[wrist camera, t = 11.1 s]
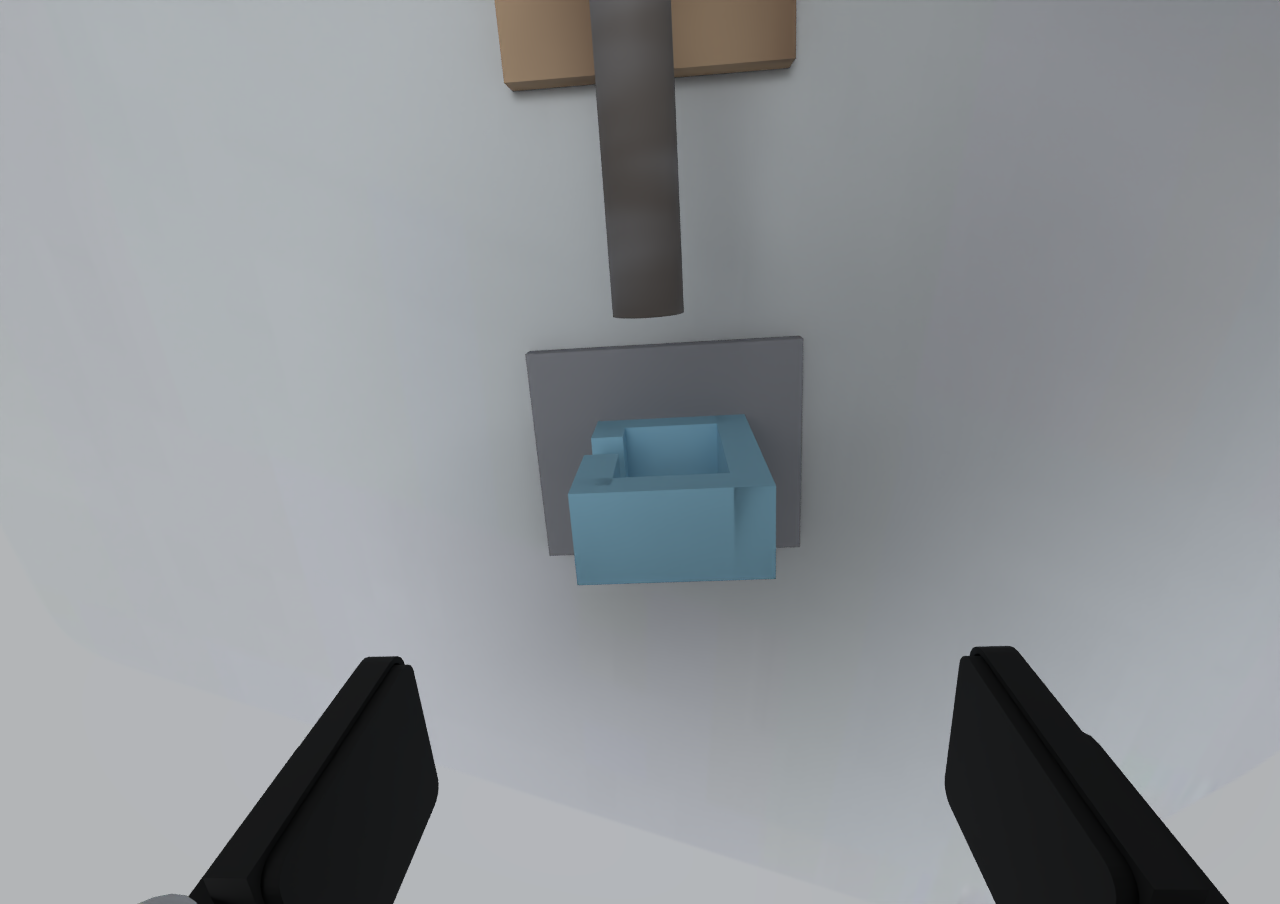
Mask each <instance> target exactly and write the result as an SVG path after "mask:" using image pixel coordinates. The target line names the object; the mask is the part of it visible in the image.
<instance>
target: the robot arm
mask: <svg viewBox="0 0 1280 904" xmlns="http://www.w3.org/2000/svg"><path fill="white" fill-rule="evenodd" d="M945 790H946V795H947V799H948V802H949V805H950V807H951V809H952V811H953V813H954V815H955V818H956V820H957V822H958V824H959V826H960V828H961V830H962V833H963V835H964V837H965V839H966V841H967V843H968V845H969V847H970V850H971V852H972V854H973V856H974V858H975V860H976V862H977V865H978V867H979V869H980V871H981V873H982V875H983V877H984V879H985V882H986V884H987V886H988V888H989V890H990V892H991V894H992V896H993V899H994V901H995V903H996V904H1229V903H1228V902H1227V901H1226V899H1225V898H1224V897H1223V896H1222V894H1221V893H1220V892H1219V891H1218V890H1217V888H1216V887H1215V886H1214V885H1213V883H1212V882H1211V881H1210V880H1209V878H1208V877H1207V876H1206V875H1205V873H1204V872H1203V871H1202V870H1201V869H1200V867H1199V866H1198V865H1197V864H1196V862H1195V861H1194V860H1193V859H1192V857H1191V856H1190V855H1189V854H1188V853H1187V851H1186V850H1185V849H1184V848H1183V847H1182V846H1181V844H1180V843H1179V842H1178V840H1177V839H1176V838H1175V837H1174V835H1173V834H1172V833H1171V832H1170V831H1169V829H1168V828H1167V827H1166V826H1165V824H1164V823H1163V822H1162V821H1161V819H1160V818H1159V817H1158V816H1157V815H1156V813H1155V812H1154V811H1153V810H1152V808H1151V807H1150V806H1149V805H1148V803H1147V802H1146V801H1145V800H1144V799H1143V797H1142V796H1141V795H1140V794H1139V792H1138V791H1137V790H1136V789H1135V787H1134V786H1133V785H1132V784H1131V783H1130V781H1129V780H1128V779H1127V778H1126V776H1125V775H1124V774H1123V773H1122V772H1121V770H1120V769H1119V768H1118V767H1117V765H1116V764H1115V763H1114V762H1113V760H1112V759H1111V758H1110V757H1109V756H1108V754H1107V753H1106V752H1105V751H1104V749H1103V748H1102V747H1101V746H1100V745H1099V744H1098V743H1097V742H1096V741H1095V740H1094V739H1093V738H1092V737H1091V736H1090V735H1088V734H1086V733H1084V732H1082V731H1081V729H1080V728H1079V727H1078V726H1077V724H1076V723H1075V722H1074V721H1073V719H1072V718H1071V717H1070V716H1069V714H1068V713H1067V712H1066V711H1065V709H1064V708H1063V707H1062V706H1061V704H1060V703H1059V702H1058V701H1057V699H1056V698H1055V697H1054V696H1053V694H1052V693H1051V692H1050V691H1049V689H1048V688H1047V687H1046V686H1045V684H1044V683H1043V682H1042V681H1041V679H1040V678H1039V677H1038V676H1037V674H1036V673H1035V672H1034V671H1033V669H1032V668H1031V667H1030V666H1029V664H1028V663H1027V662H1026V661H1025V659H1024V658H1023V657H1022V656H1021V654H1020V653H1019V652H1018V651H1017V650H1016V649H1015V648H1014V647H1011V646H989V647H974V648H973V649H972V650H971V652H970V656H963V657H962V658H961V660H960V664H959V671H958V679H957V687H956V695H955V703H954V711H953V718H952V726H951V734H950V742H949V750H948V757H947V765H946V773H945ZM437 795H438V777H437V773H436V768H435V764H434V759H433V755H432V750H431V746H430V741H429V737H428V732H427V728H426V724H425V719H424V715H423V710H422V706H421V701H420V697H419V693H418V688H417V684H416V679H415V675H414V671H413V668H412V667H411V665H405V664H404V661H403V660H402V658H401V657H398V656H392V657H367V658H364V660H363V661H362V662H361V663H360V664H359V665H358V667H357V668H356V669H355V671H354V672H353V674H352V675H351V676H350V678H349V679H348V680H347V682H346V683H345V684H344V686H343V687H342V689H341V690H340V691H339V693H338V694H337V695H336V697H335V698H334V700H333V701H332V702H331V704H330V705H329V706H328V708H327V709H326V710H325V712H324V713H323V715H322V716H321V717H320V719H319V720H318V721H317V723H316V724H315V725H314V727H313V728H312V730H311V731H310V732H309V734H308V735H307V736H306V738H305V739H304V741H303V742H302V743H301V745H300V746H299V747H298V748H297V749H296V751H295V752H294V753H293V755H292V756H291V757H290V759H289V760H288V762H287V763H286V764H285V766H284V767H283V768H282V770H281V771H280V772H279V774H278V775H277V776H276V778H275V779H274V781H273V782H272V783H271V785H270V786H269V787H268V789H267V790H266V792H265V793H264V794H263V796H262V797H261V798H260V800H259V801H258V802H257V804H256V805H255V806H254V808H253V809H252V811H251V812H250V813H249V815H248V816H247V817H246V819H245V820H244V821H243V823H242V824H241V826H240V827H239V828H238V830H237V831H236V832H235V834H234V835H233V837H232V838H231V839H230V841H229V842H228V843H227V845H226V846H225V847H224V849H223V850H222V852H221V853H220V854H219V856H218V857H217V858H216V860H215V861H214V862H213V864H212V865H211V866H210V868H209V869H208V871H207V872H206V873H205V875H204V876H203V877H202V879H201V880H200V881H199V883H198V884H197V886H196V887H195V888H194V890H193V891H192V892H191V894H190V895H189V896H185V895H177V894H168V895H163V896H158V897H154V898H151V899H148V900H146V901H144V902H141V903H139V904H393V903H394V900H395V898H396V896H397V893H398V891H399V889H400V886H401V884H402V881H403V879H404V877H405V874H406V872H407V870H408V867H409V865H410V863H411V860H412V858H413V855H414V853H415V851H416V848H417V846H418V843H419V841H420V839H421V836H422V834H423V832H424V829H425V827H426V825H427V822H428V820H429V818H430V815H431V813H432V811H433V808H434V806H435V803H436V799H437Z"/></svg>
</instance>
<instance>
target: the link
mask: <svg viewBox="0 0 1280 904" xmlns="http://www.w3.org/2000/svg"><path fill="white" fill-rule="evenodd" d="M591 443H592V454H593V455H584V457H583V459H582V461H581V464H580V466H579V469H578V471H577V473H576V476H575V478H574V481H573V483H572V486H571V488H570V490H569V493H568V500H569V509H570V519H571V528H572V537H573V547H574V556H575V566H576V575H577V585H598V584H629V583H660V582H691V581H723V580H754V579H776V484H775V482H774V480H773V478H772V475H771V473H770V471H769V468H768V466H767V464H766V462H765V459H764V457H763V455H762V453H761V450H760V448H759V446H758V444H757V441H756V439H755V437H754V435H753V432H752V430H751V428H750V426H749V423H748V421H747V419H746V417H745V414H738V415H717V416H697V417H676V418H656V419H635V420H614V421H598V423H597V425H596V427H595V430H594V432H593V435H592V437H591Z"/></svg>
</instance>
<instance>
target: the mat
mask: <svg viewBox="0 0 1280 904" xmlns="http://www.w3.org/2000/svg"><path fill="white" fill-rule="evenodd" d="M525 355H526V364H527V372H528V380H529V388H530V397H531V405H532V413H533V422H534V430H535V438H536V447H537V455H538V463H539V471H540V480H541V488H542V496H543V505H544V513H545V521H546V530H547V538H548V546H549V554H550V556H558V555H574V547H573V537H572V528H571V519H570V509H569V500H568V493H569V490H570V488H571V486H572V483H573V481H574V478H575V476H576V473H577V471H578V469H579V466H580V464H581V461H582V459H583V457H584V455H593V454H592V443H591V437H592V435H593V432H594V430H595V427H596V425H597V423H598V421H614V420H635V419H656V418H676V417H697V416H717V415H738V414H745V417H746V419H747V421H748V423H749V426H750V428H751V430H752V432H753V435H754V437H755V439H756V441H757V444H758V446H759V448H760V450H761V453H762V455H763V457H764V459H765V462H766V464H767V466H768V468H769V471H770V473H771V475H772V478H773V480H774V482H775V484H776V548H781V547H800V500H801V443H802V385H803V338H802V337H800V336H789V337H771V338H754V339H736V340H718V341H701V342H683V343H666V344H648V345H631V346H613V347H596V348H578V349H561V350H543V351H529V352H528V353H527V354H525Z"/></svg>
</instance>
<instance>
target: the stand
mask: <svg viewBox="0 0 1280 904" xmlns="http://www.w3.org/2000/svg"><path fill="white" fill-rule="evenodd" d="M495 8H496V16H497V25H498V34H499V42H500V51H501V60H502V68H503V77H504V83H505V84H506V85H507V86H508V87H509V88H510V89H511V90H512V91H520V90H532V89H544V88H555V87H567V86H579V85H591V84H596V97H597V110H598V123H599V137H600V150H601V163H602V176H603V189H604V203H605V216H606V229H607V242H608V256H609V269H610V282H611V295H612V309H613V317H615V318H652V317H663V316H671V315H677V314H681V313H683V312H684V304H683V280H682V255H681V231H680V206H679V182H678V158H677V133H676V109H675V85H674V77H686V76H698V75H710V74H722V73H734V72H746V71H758V70H770V69H782V68H789V67H790V66H791V64H792V63H793V61H794V60H795V58H796V0H495Z"/></svg>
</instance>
